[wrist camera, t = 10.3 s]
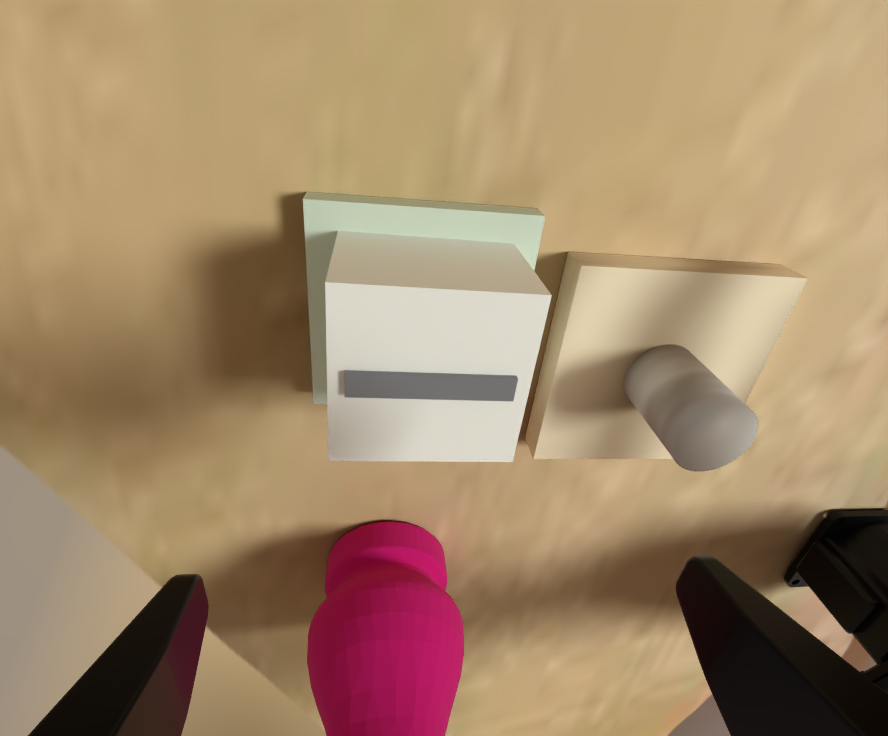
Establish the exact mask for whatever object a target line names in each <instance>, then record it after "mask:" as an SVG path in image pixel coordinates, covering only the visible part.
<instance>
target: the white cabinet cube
mask: <svg viewBox="0 0 888 736" xmlns="http://www.w3.org/2000/svg"><path fill="white" fill-rule="evenodd" d="M551 297H552V295H551V293H550V292H549V291H548V289H547V288H546V287H545V285H544V284H543V283H542V281H541V280H540V278H539V277H538V276H537V274H536V273H535V272H534V270H533V269H532V267H531V266H530V265H529V263H528V262H527V261H526V259H525V258H524V257H523V255H522V254H521V252H520V251H519V250H518V248H517V247H516V246H515V244H514V243H501V242H487V241H473V240H460V239H446V238H432V237H418V236H405V235H391V234H377V233H364V232H350V231H338V233H337V237H336V241H335V245H334V249H333V253H332V257H331V261H330V265H329V269H328V273H327V277H326V281H325V300H326V352H327V403H328V454H329V461H447V462H513V458H514V454H515V449H516V445H517V441H518V437H519V432H520V428H521V424H522V420H523V415H524V411H525V407H526V403H527V399H528V394H529V390H530V386H531V382H532V377H533V373H534V369H535V365H536V360H537V356H538V352H539V348H540V343H541V339H542V335H543V331H544V326H545V322H546V318H547V314H548V309H549V305H550V301H551Z"/></svg>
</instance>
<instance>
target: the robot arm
mask: <svg viewBox="0 0 888 736" xmlns="http://www.w3.org/2000/svg"><path fill="white" fill-rule="evenodd" d="M784 581H785V582H786V584H787V585H788V586H789V587H805V586H809V587H810V588H811V590H812V591H813V592H814V593H815V594H816V596H817V597H818V598H819V599H820V601H821V602H822V603H823V604H824V605H825V607H826V608H827V609H828V610H829V612H830V613H831V614H832V615H833V617H834V618H835V619H836V620H837V621H838V623H839V624H840V625H841V626H842V628H843V629H844V630H845V631H846V632H847V633H850V634H851V633H852V634H853V636H854V637H855V638H856V639H857V640H858V642H859V643H860V644H861V645H862V646H863V648H864V649H865V650H866V651H867V653H868V654H869V655H870V656H871V657H872V659H873V660H874V661H875V662H876V663H877V665H875V666H874V667H872V668H870V669H869V670H866V671H865V672H864V671H860V672H859V671H858V670H857V669H855V668H854V667H853V666H852V665H850V664H849V663H848V662H846V661H845V660H844V659H843V658H841V657H840V656H839V655H838V654H836V653H835V652H834V651H833V650H831V649H830V648H829V647H827V646H826V645H825V644H824V643H822V642H821V641H820V640H819V639H817V638H816V637H815V636H814V635H812V634H811V633H810V632H808V631H807V630H806V629H805V628H803V627H802V626H801V625H800V624H798V623H797V622H796V621H795V620H793V619H792V618H791V617H789V616H788V615H787V614H786V613H784V612H783V611H782V610H781V609H779V608H778V607H777V606H775V605H774V604H773V603H772V602H770V601H769V600H768V599H767V598H765V597H764V596H763V595H762V594H760V593H759V592H758V591H756V590H755V589H754V588H753V587H751V586H750V585H749V584H748V583H746V582H745V581H744V580H743V579H741V578H740V577H739V576H737V575H736V574H735V573H734V572H732V571H731V570H730V569H729V568H727V567H726V566H725V565H723V564H722V563H721V562H720V561H718V560H717V559H715V558H714V557H711V556H693V557H691V558H689V559H688V561H687V563H686V565H685V566H684V568H683V570H682V572H681V574H680V576H679V577H678V579H677V582H676V593H677V597H678V600H679V603H680V606H681V609H682V612H683V615H684V618H685V620H686V623H687V626H688V629H689V632H690V635H691V638H692V641H693V644H694V647H695V650H696V653H697V656H698V659H699V662H700V664H701V667H702V670H703V673H704V675H705V678H706V680H707V683H708V685H709V687H710V690H711V692H712V694H713V696H714V699H715V701H716V703H717V706H718V708H719V710H720V712H721V715H722V717H723V719H724V721H725V724H726V726H727V728H728V730H729V732H730V735H731V736H888V510H876V511H837V512H834V513H832V514H830V515H829V516H828V517H827V518H826V519H825V521H824V522H823V524H822V525H821V526H820V528H819V529H818V531H817V532H816V533H815V535H814V536H813V538H812V539H811V540H810V542H809V543H808V545H807V546H806V547H805V549H804V550H803V552H802V553H801V554H800V556H799V557H798V559H797V560H796V561H795V563H794V564H793V566H792V567H791V568H790V570H789V571H788V573H787V574H786V575H785V577H784ZM207 617H208V600H207V596H206V592H205V588H204V584H203V580H202V578H201V576H200V575H198V574H183V575H176V576H174V577H172V578H171V579H170V580H169V581H168V582H167V583H166V584H165V585H164V586H163V587H162V588H161V590H160V591H159V592H158V593H157V594H156V595H155V596H154V597H153V598H152V600H151V601H150V602H149V603H148V604H147V605H146V606H145V607H144V608H143V609H142V611H141V612H140V613H139V614H138V615H137V616H136V617H135V618H134V619H133V620H132V622H131V623H130V624H129V625H128V626H127V627H126V628H125V629H124V630H123V632H122V633H121V634H120V635H119V636H118V637H117V638H116V639H115V640H114V641H113V643H112V644H111V645H110V646H109V647H108V648H107V649H106V650H105V651H104V653H103V654H102V655H101V656H100V657H99V658H98V659H97V660H96V661H95V662H94V664H93V665H92V666H91V667H90V668H89V669H88V670H87V671H86V672H85V673H84V674H83V676H82V677H81V678H80V679H79V680H78V681H77V682H76V683H75V684H74V686H73V687H72V688H71V689H70V690H69V691H68V692H67V693H66V694H65V695H64V696H63V698H62V699H61V700H60V701H59V702H58V703H57V704H56V705H55V706H54V708H53V709H52V710H51V711H50V712H49V713H48V714H47V715H46V716H45V717H44V719H43V720H42V721H41V722H40V723H39V724H38V725H37V726H36V727H35V729H34V730H33V731H32V732H31V733H30V734H29V735H28V736H181V734H182V731H183V727H184V724H185V720H186V717H187V713H188V708H189V704H190V699H191V695H192V689H193V685H194V680H195V675H196V671H197V666H198V661H199V656H200V651H201V646H202V641H203V637H204V631H205V627H206V622H207Z"/></svg>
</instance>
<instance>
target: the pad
mask: <svg viewBox="0 0 888 736" xmlns="http://www.w3.org/2000/svg"><path fill="white" fill-rule="evenodd" d="M303 211H304V230H305V250H306V269H307V288H308V307H309V327H310V346H311V365H312V385H313V404H328V403H327V352H326V300H325V281H326V277H327V273H328V269H329V265H330V261H331V257H332V253H333V249H334V245H335V241H336V237H337V233H338V231H350V232H364V233H377V234H391V235H405V236H418V237H432V238H446V239H460V240H473V241H487V242H501V243H514V244H515V246H516V247H517V248H518V250H519V251H520V252H521V254H522V255H523V257H524V258H525V259H526V261H527V262H528V263H529V265H530V266H531V267H532V269H533V270H535V265H536V260H537V255H538V250H539V245H540V240H541V235H542V230H543V225H544V220H545V215H544V214H543V213H542V212H541V211H539V210H538V209H537V208H523V207H509V206H496V205H482V204H468V203H454V202H440V201H426V200H413V199H399V198H385V197H371V196H357V195H343V194H329V193H316V192H306V194H305V196H304V198H303Z"/></svg>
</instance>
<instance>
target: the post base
mask: <svg viewBox="0 0 888 736" xmlns="http://www.w3.org/2000/svg"><path fill="white" fill-rule="evenodd" d="M807 280H808V278H807V277H805V276H803V275H801V274H799V273H797V272H795V271H793V270H791V269H789V268H787V267H785V266H783V265H781V264H764V263H748V262H731V261H714V260H698V259H681V258H664V257H647V256H631V255H614V254H597V253H581V252H568V254H567V258H566V262H565V267H564V271H563V275H562V280H561V284H560V288H559V293H558V297H557V301H556V306H555V310H554V314H553V319H552V323H551V327H550V332H549V336H548V340H547V345H546V349H545V353H544V358H543V362H542V366H541V371H540V375H539V379H538V384H537V388H536V392H535V397H534V401H533V405H532V410H531V414H530V418H529V423H528V427H527V431H526V436H525V438H526V441H527V444H528V446H529V449H530V451H531V454H532V457H533V459H674V460H675V462H676V463H677V464H678V465H679V466H681V467H682V468H684V469H687V470H690V471H708V470H713V469H716V468H719V467H722V466H724V465H726V464H728V463H730V462H732V461H733V460H735V459H736V458H738V457H739V456H740V455H741V454H743V453H744V452H745V451H746V450H747V449H748V448H749V446H750V445H751V444H752V442H753V440H754V439H755V437H756V434H757V431H758V419H757V416H756V414H755V413H754V411H752V410H751V409H750V408H749V407H748V406H747V405H746V404H745V403H746V401H747V399H748V397H749V395H750V393H751V391H752V389H753V387H754V385H755V383H756V381H757V379H758V377H759V375H760V373H761V371H762V369H763V367H764V365H765V363H766V361H767V359H768V357H769V355H770V353H771V351H772V349H773V347H774V345H775V343H776V341H777V339H778V337H779V335H780V333H781V331H782V329H783V327H784V325H785V323H786V321H787V319H788V317H789V315H790V313H791V311H792V309H793V307H794V305H795V303H796V301H797V299H798V297H799V295H800V293H801V291H802V290H803V288H804V286H805V284H806V282H807Z"/></svg>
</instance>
